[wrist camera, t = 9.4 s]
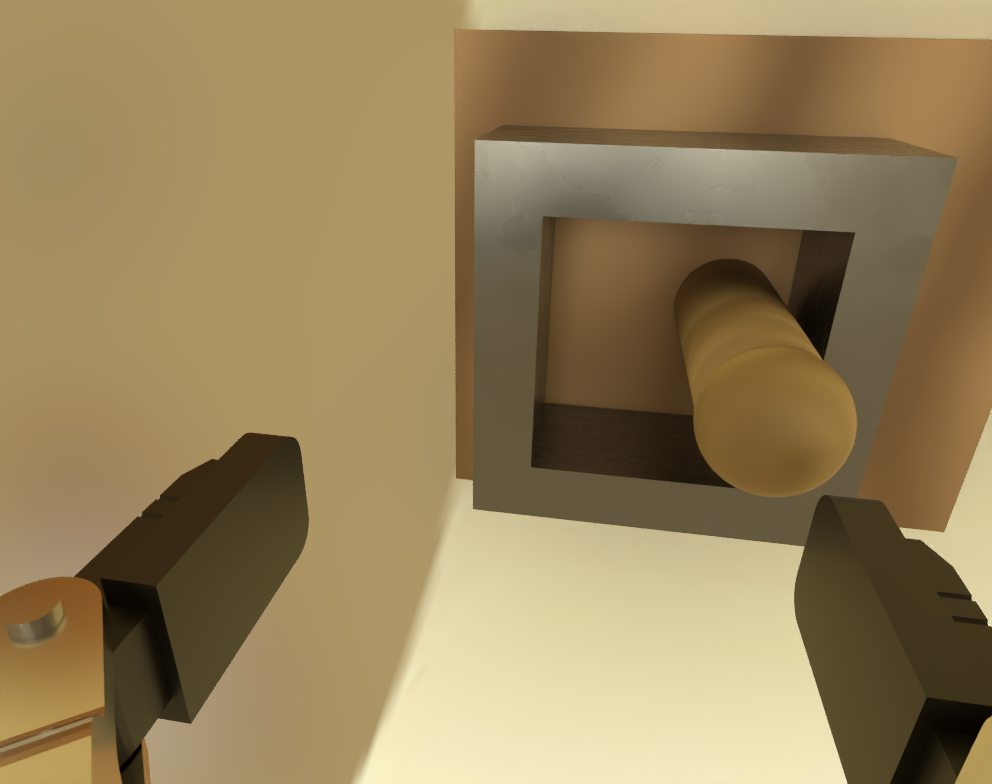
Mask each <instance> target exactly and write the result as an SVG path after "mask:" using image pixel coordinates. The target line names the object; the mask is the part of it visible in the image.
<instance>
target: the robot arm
mask: <svg viewBox="0 0 992 784" xmlns="http://www.w3.org/2000/svg"><path fill="white" fill-rule="evenodd" d="M308 524H309V517H308V507H307V499H306V490H305V482H304V474H303V465H302V457H301V450H300V446H299V443H298V441H297V440H296V439H295V438H294V437H287V436H277V435H268V434H259V433H246V434H245V435H243V436H242V437H241V438H240V439H239V440H238V441H237V442H236V443H235V444H234V445H233V446H232V447H231V448H230V449H229V450H228V451H227V452H226V453H225V454H224V455H223V456H222V457H221V458H220V459H219V460H215V459H211V460H209V461H208V462H206V463H204V464H202V465H200V466H198V467H196V468H194V469H192V470H191V471H189V472H187V473H185V474H183V475H181V476H180V477H179V478H178V479H177V480H176V481H175V482H174V483H173V484H172V485H171V486H169V488H167V489H166V490H165V491H164V492H163V493H162V494H161V495H160V499H159V500H155V501H154V502H153V503H152V504H150V505H149V506H148V507H147V508H146V509H145V510H144V511H143V512H142V516H141V517H137V518H136V519H135V520H133V521H132V523H130V524H129V525H128V526H127V527H126V528H125V529H124V530H123V531H122V532H121V533H120V534H119V535H118V536H117V537H116V538H115V539H114V540H112V541H111V542H110V543H109V544H108V545H107V546H106V547H105V548H104V549H103V550H102V551H101V552H100V553H99V554H98V555H96V556H95V558H93V559H92V560H91V561H90V562H89V563H88V564H87V565H86V566H85V567H84V568H83V569H82V570H81V571H80V572H79V573H77V574H76V575H75V576H74V577H55V578H48V579H44V580H39V581H35V582H32V583H29V584H26V585H24V586H21V587H19V588H16V589H14V590H12V591H10V592H8V593H6V594H4V595H2V596H0V784H151V781H150V769H149V758H148V749H147V745H146V742H145V738H144V737H145V736H146V734H147V733H148V731H149V730H150V729H151V727H152V726H153V724H154V723H155V722H156V720H157V719H158V718H160V719H166V720H172V721H178V722H184V723H190V724H191V723H192V721H193V720H194V718H195V717H196V715H197V713H198V712H199V711H200V709H201V707H202V706H203V704H204V703H205V701H206V700H207V698H208V697H209V695H210V693H211V692H212V690H213V689H214V687H215V686H216V684H217V682H218V681H219V680H220V678H221V677H222V675H223V673H224V672H225V670H226V669H227V667H228V666H229V664H230V663H231V661H232V660H233V658H234V656H235V655H236V653H237V652H238V650H239V648H240V647H241V646H242V644H243V642H244V641H245V640H246V638H247V636H248V635H249V633H250V632H251V630H252V628H253V627H254V625H255V624H256V622H257V621H258V619H259V618H260V616H261V615H262V613H263V612H264V610H265V609H266V607H267V606H268V604H269V602H270V601H271V599H272V597H273V596H274V595H275V593H276V592H277V590H278V588H279V587H280V585H281V584H282V582H283V581H284V579H285V578H286V576H287V575H288V573H289V572H290V570H291V568H292V567H293V565H294V564H295V562H296V560H297V559H298V558H299V556H300V554H301V552H302V550H303V548H304V545H305V542H306V538H307V533H308ZM971 597H972V595H971V594H970V592H969V591H968V589H967V588H966V586H965V585H964V583H963V581H962V580H961V578H960V577H959V575H958V574H957V572H956V571H955V569H954V568H953V566H951V565H950V564H949V563H948V562H947V561H945V560H944V559H943V558H942V557H940V556H939V555H938V554H937V553H936V552H934V551H933V550H932V549H931V548H930V547H928V546H927V545H926V544H925V543H923V542H922V541H921V540H915V539H906V538H905V537H904V536H903V534H902V532H901V531H900V529H899V527H898V526H897V524H896V522H895V521H894V519H893V517H892V516H891V514H890V512H889V510H888V509H887V507H886V506H885V504H884V503H883V502H882V501H879V500H871V499H861V498H852V497H842V496H833V495H823V496H822V497H821V498H820V499H819V501H818V503H817V505H816V508H815V512H814V515H813V519H812V523H811V526H810V530H809V534H808V537H807V541H806V544H805V548H804V552H803V555H802V559H801V563H800V566H799V570H798V573H797V577H796V583H795V592H794V605H795V614H796V620H797V623H798V627H799V630H800V633H801V636H802V639H803V643H804V646H805V649H806V652H807V655H808V659H809V662H810V665H811V668H812V671H813V674H814V678H815V681H816V684H817V687H818V690H819V694H820V697H821V700H822V703H823V706H824V710H825V713H826V716H827V719H828V722H829V726H830V729H831V732H832V735H833V738H834V742H835V745H836V748H837V751H838V754H839V757H840V761H841V764H842V767H843V770H844V773H845V777H846V780H847V783H848V784H992V627H991V626H988V624H987V622H988V620H987V618H986V617H985V615H984V614H983V612H982V610H981V609H980V607H979V606H978V604H977V603H976V601H972V600H971Z"/></svg>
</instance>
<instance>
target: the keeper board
mask: <svg viewBox="0 0 992 784" xmlns="http://www.w3.org/2000/svg"><path fill="white" fill-rule="evenodd" d="M454 32H455V33H454V42H455V281H456V282H455V292H456V293H455V297H456V298H455V300H456V301H455V302H456V303H455V304H456V306H455V307H456V309H455V311H456V478H459V479H468V480H473V438H474V202H475V140H476V139H478V138H479V137H481V136H483V135H485V134H487V133H489V132H490V131H492V130H494V129H496V128H498V127H499V126H501V125H519V126H548V127H578V128H607V129H637V130H666V131H696V132H726V133H755V134H785V135H814V136H844V137H873V138H891V139H895V140H898V141H902V142H905V143H908V144H912V145H915V146H919V147H922V148H926V149H929V150H933V151H936V152H939V153H943V154H946V155H950V156H953V157H957V158H958V161H957V164H956V167H955V171H954V174H953V177H952V181H951V184H950V188H949V191H948V194H947V198H946V201H945V204H944V208H943V211H942V214H941V218H940V221H939V224H938V228H937V231H936V234H935V238H934V241H933V244H932V248H931V251H930V254H929V258H928V261H927V264H926V268H925V271H924V274H923V278H922V281H921V284H920V288H919V291H918V294H917V298H916V301H915V304H914V308H913V311H912V314H911V318H910V321H909V324H908V328H907V331H906V334H905V338H904V341H903V344H902V348H901V351H900V355H899V358H898V361H897V365H896V368H895V371H894V375H893V378H892V381H891V385H890V388H889V391H888V395H887V398H886V401H885V405H884V408H883V411H882V415H881V418H880V421H879V425H878V428H877V431H876V435H875V438H874V441H873V445H872V448H871V451H870V455H869V458H868V461H867V465H866V468H865V471H864V475H863V478H862V481H861V485H860V488H859V491H858V495H857V498H861V499H871V500H879V501H882V502H883V503H884V504H885V506H886V507H887V509H888V510H889V512H890V514H891V516H892V517H893V519H894V521H895V522H896V524H897V526H898V527H903V528H912V529H921V530H930V531H939V532H944V531H945V528H946V526H947V523H948V520H949V518H950V515H951V512H952V510H953V507H954V505H955V502H956V499H957V497H958V494H959V492H960V489H961V486H962V484H963V481H964V479H965V476H966V473H967V471H968V468H969V465H970V463H971V460H972V458H973V455H974V452H975V450H976V447H977V445H978V442H979V439H980V437H981V434H982V431H983V429H984V426H985V424H986V421H987V418H988V416H989V413H990V411H991V408H992V40H970V39H919V38H868V37H818V36H767V35H716V34H665V33H614V32H563V31H512V30H462V29H455V30H454ZM802 235H803V230H798V229H779V228H759V227H740V226H721V225H702V224H682V223H663V222H644V221H625V220H605V219H586V218H567V217H555V234H554V252H553V270H552V288H551V306H550V324H549V342H548V360H547V378H546V396H545V403H556V404H568V405H579V406H590V407H601V408H612V409H623V410H635V411H646V412H657V413H668V414H679V415H691V416H693V422H694V433H695V438H696V441H697V444H698V447H699V449H700V452H701V453H702V455H703V457H704V459H705V460H706V462H707V463H708V464H709V466H710V467H711V468H712V469H713V471H715V472H716V473H717V474H718V475H719V476H720V477H721V478H722V479H723V480H725V481H726V482H728V483H729V484H731V485H732V486H734V487H736V488H738V489H740V490H743V491H745V492H748V493H751V494H754V495H758V496H764V497H788V496H795V495H799V494H802V493H805V492H808V491H810V490H813V489H815V488H817V487H818V486H820V485H822V484H823V483H825V482H826V481H827V480H829V479H830V478H831V477H832V476H834V475H835V474H836V473H837V471H838V470H839V469H840V468H841V467H842V466H843V464H844V463H845V461H846V460H847V458H848V456H849V454H850V452H851V450H852V447H853V444H854V441H855V436H856V430H857V416H856V409H855V404H854V401H853V398H852V396H851V393H850V391H849V389H848V387H847V385H846V384H845V382H844V381H843V379H842V378H841V377H840V376H839V375H838V373H837V372H836V371H835V370H834V369H833V368H832V367H831V366H829V365H828V364H827V363H826V362H824V361H823V360H822V358H821V357H820V355H819V354H818V352H817V351H816V349H815V348H814V346H813V345H812V343H811V342H810V340H809V339H808V337H807V336H806V334H805V333H804V331H803V330H802V328H801V327H800V325H799V324H798V323H797V321H796V320H795V318H794V317H793V315H792V314H791V312H790V311H789V309H788V308H787V305H788V300H789V295H790V291H791V286H792V281H793V277H794V272H795V267H796V263H797V258H798V253H799V249H800V244H801V239H802Z"/></svg>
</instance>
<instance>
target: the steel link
mask: <svg viewBox="0 0 992 784" xmlns="http://www.w3.org/2000/svg"><path fill="white" fill-rule="evenodd" d="M957 161H958V158H957V157H953V156H950V155H946V154H943V153H939V152H936V151H933V150H929V149H926V148H922V147H919V146H915V145H912V144H908V143H905V142H902V141H898V140H895V139H891V138H873V137H844V136H814V135H785V134H755V133H726V132H696V131H666V130H637V129H607V128H578V127H548V126H519V125H501V126H499V127H498V128H496V129H494V130H492V131H490V132H489V133H487V134H485V135H483V136H481V137H479V138H478V139H476V140H475V202H474V438H473V509H477V510H486V511H495V512H504V513H513V514H522V515H531V516H539V517H548V518H557V519H566V520H575V521H584V522H593V523H602V524H611V525H619V526H628V527H637V528H646V529H655V530H664V531H673V532H682V533H691V534H699V535H708V536H717V537H726V538H735V539H744V540H753V541H762V542H771V543H779V544H788V545H797V546H805V544H806V541H807V537H808V534H809V530H810V526H811V523H812V519H813V515H814V512H815V508H816V505H817V503H818V501H819V499H820V498H821V497H822V496H823V495H833V496H842V497H852V498H857V495H858V491H859V488H860V485H861V481H862V478H863V475H864V471H865V468H866V465H867V461H868V458H869V455H870V451H871V448H872V445H873V441H874V438H875V435H876V431H877V428H878V425H879V421H880V418H881V415H882V411H883V408H884V405H885V401H886V398H887V395H888V391H889V388H890V385H891V381H892V378H893V375H894V371H895V368H896V365H897V361H898V358H899V355H900V351H901V348H902V344H903V341H904V338H905V334H906V331H907V328H908V324H909V321H910V318H911V314H912V311H913V308H914V304H915V301H916V298H917V294H918V291H919V288H920V284H921V281H922V278H923V274H924V271H925V268H926V264H927V261H928V258H929V254H930V251H931V248H932V244H933V241H934V238H935V234H936V231H937V228H938V224H939V221H940V218H941V214H942V211H943V208H944V204H945V201H946V198H947V194H948V191H949V188H950V184H951V181H952V177H953V174H954V171H955V167H956V164H957ZM555 217H567V218H586V219H605V220H625V221H644V222H663V223H682V224H702V225H721V226H740V227H759V228H779V229H798V230H803V235H802V239H801V244H800V249H799V253H798V258H797V263H796V267H795V272H794V277H793V281H792V286H791V291H790V295H789V300H788V305H787V308H788V309H789V311H790V312H791V314H792V315H793V317H794V318H795V320H796V321H797V323H798V324H799V325H800V327H801V328H802V330H803V331H804V333H805V334H806V336H807V337H808V339H809V340H810V342H811V343H812V345H813V346H814V348H815V349H816V351H817V352H818V354H819V355H820V357H821V358H822V360H823V361H824V362H826V363H827V364H828V365H829V366H831V367H832V368H833V369H834V370H835V371H836V372H837V373H838V375H839V376H840V377H841V378H842V379H843V381H844V382H845V384H846V385H847V387H848V389H849V391H850V393H851V396H852V398H853V401H854V404H855V409H856V416H857V430H856V436H855V441H854V444H853V447H852V450H851V452H850V454H849V456H848V458H847V460H846V461H845V463H844V464H843V466H842V467H841V468H840V469H839V470H838V471H837V473H836V474H835V475H834V476H832V477H831V478H830V479H829V480H827V481H826V482H825V483H823V484H822V485H820V486H818V487H817V488H815V489H813V490H810V491H808V492H805V493H802V494H799V495H795V496H788V497H764V496H758V495H754V494H751V493H748V492H745V491H743V490H740V489H738V488H736V487H734V486H732V485H731V484H729V483H728V482H726V481H725V480H723V479H722V478H721V477H720V476H719V475H718V474H717V473H716V472H715V471H713V469H712V468H711V467H710V466H709V464H708V463H707V462H706V460H705V459H704V457H703V455H702V453H701V452H700V449H699V447H698V444H697V441H696V438H695V433H694V422H693V416H691V415H679V414H668V413H657V412H646V411H635V410H623V409H612V408H601V407H590V406H579V405H568V404H556V403H545V396H546V378H547V360H548V342H549V324H550V306H551V288H552V270H553V252H554V234H555Z"/></svg>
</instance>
